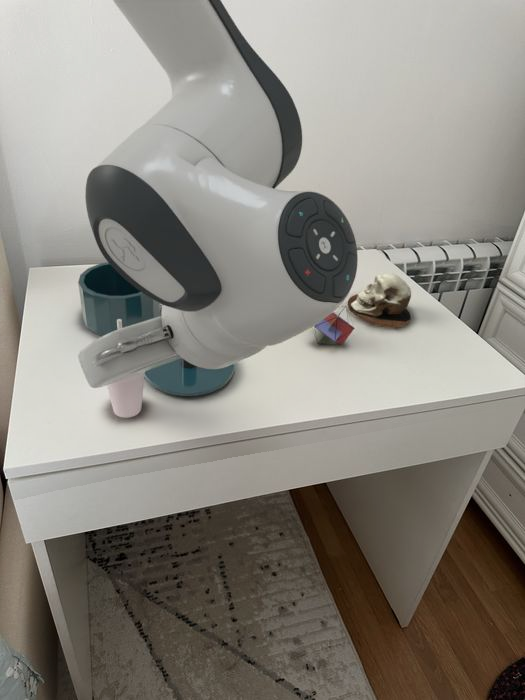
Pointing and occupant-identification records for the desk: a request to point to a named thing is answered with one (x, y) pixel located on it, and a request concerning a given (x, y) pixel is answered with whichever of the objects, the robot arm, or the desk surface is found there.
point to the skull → (383, 302)
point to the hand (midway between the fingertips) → (162, 351)
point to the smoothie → (127, 393)
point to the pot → (112, 300)
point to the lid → (187, 378)
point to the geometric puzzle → (335, 328)
